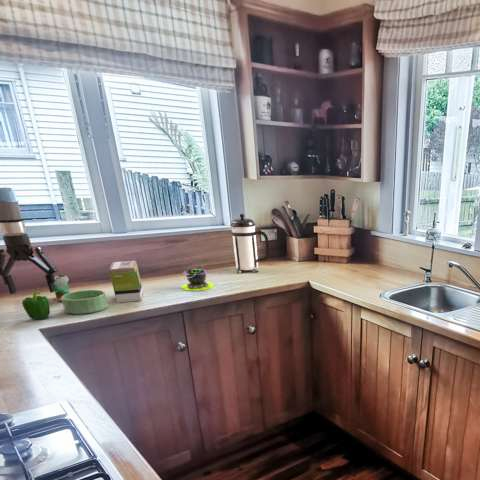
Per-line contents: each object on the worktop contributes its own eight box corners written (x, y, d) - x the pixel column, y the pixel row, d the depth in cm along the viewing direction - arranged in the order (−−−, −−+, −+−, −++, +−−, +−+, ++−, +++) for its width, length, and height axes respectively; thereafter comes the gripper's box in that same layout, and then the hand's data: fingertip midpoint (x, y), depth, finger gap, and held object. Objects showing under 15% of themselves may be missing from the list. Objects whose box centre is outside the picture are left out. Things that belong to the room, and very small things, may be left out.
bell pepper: (31, 323, 174) (22, 297, 170) (24, 318, 179) (16, 292, 175) (56, 317, 180) (49, 292, 175) (49, 313, 185) (42, 288, 180)
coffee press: (248, 275, 247) (242, 216, 234) (227, 271, 254) (220, 213, 242) (271, 269, 260) (267, 213, 247) (251, 265, 268) (246, 211, 255)
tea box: (119, 294, 211) (111, 261, 204) (143, 292, 214) (137, 259, 208) (116, 303, 198) (108, 268, 192) (142, 301, 202) (135, 266, 195)
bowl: (58, 315, 182) (54, 300, 180) (74, 304, 196) (70, 290, 193) (100, 314, 184) (96, 299, 182) (113, 303, 198) (110, 289, 196)
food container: (74, 301, 200) (68, 278, 196) (58, 303, 197) (51, 280, 193) (72, 294, 209) (66, 272, 205) (56, 296, 206) (50, 274, 202)
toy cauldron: (182, 284, 229) (178, 261, 224) (214, 282, 233) (211, 259, 228) (180, 291, 216) (176, 268, 211) (214, 289, 220) (211, 266, 215)
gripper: (57, 231, 171) (73, 288, 180) (-18, 233, 167) (2, 290, 176) (47, 234, 164) (64, 293, 173) (-31, 236, 161) (-9, 296, 170)
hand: (33, 292), depth 175 cm, fingers open, 13 cm apart
